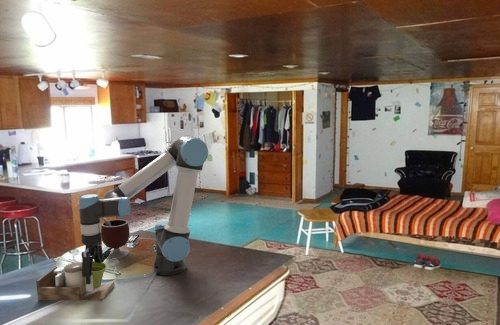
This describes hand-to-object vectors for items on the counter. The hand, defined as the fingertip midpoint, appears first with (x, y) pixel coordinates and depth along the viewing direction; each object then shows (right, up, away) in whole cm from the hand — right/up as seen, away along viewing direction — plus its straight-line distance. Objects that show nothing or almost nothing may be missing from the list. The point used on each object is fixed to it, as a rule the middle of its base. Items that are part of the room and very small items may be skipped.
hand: (94, 285), depth 164 cm
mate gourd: (-6, +3, +45) cm, 45 cm away
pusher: (-14, -3, +1) cm, 14 cm away
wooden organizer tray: (-7, -4, +1) cm, 8 cm away
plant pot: (-1, 0, 0) cm, 1 cm away
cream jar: (-8, -3, +1) cm, 9 cm away
